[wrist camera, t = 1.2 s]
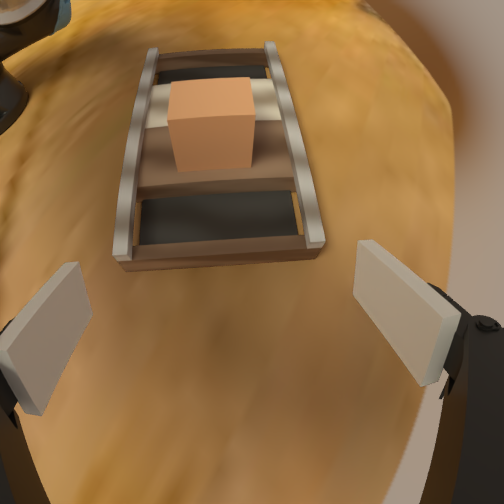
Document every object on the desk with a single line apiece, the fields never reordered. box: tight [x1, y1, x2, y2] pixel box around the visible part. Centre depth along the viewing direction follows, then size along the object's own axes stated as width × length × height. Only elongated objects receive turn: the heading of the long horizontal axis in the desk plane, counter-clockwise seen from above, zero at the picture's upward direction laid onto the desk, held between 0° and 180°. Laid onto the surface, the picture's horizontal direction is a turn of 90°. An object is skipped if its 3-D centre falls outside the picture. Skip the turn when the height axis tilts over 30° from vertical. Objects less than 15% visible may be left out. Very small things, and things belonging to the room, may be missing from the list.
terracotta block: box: [167, 77, 256, 172], centre depth 32 cm, size 6×8×8 cm
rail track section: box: [112, 41, 326, 272], centre depth 38 cm, size 36×20×4 cm, turn 5°
